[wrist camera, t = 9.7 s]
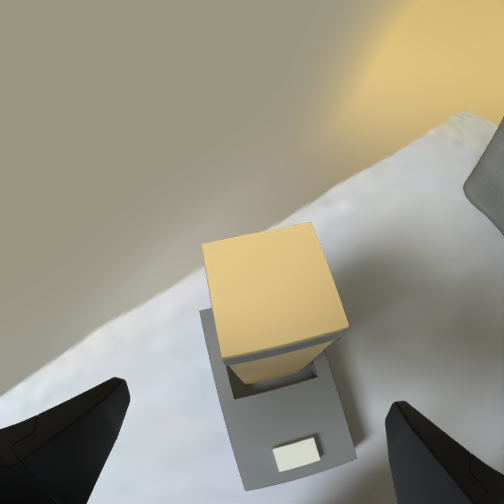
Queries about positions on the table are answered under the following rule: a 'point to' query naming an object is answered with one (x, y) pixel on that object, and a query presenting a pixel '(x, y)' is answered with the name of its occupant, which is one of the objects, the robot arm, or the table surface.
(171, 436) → the table surface
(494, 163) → the flask
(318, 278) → the plug
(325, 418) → the bar
